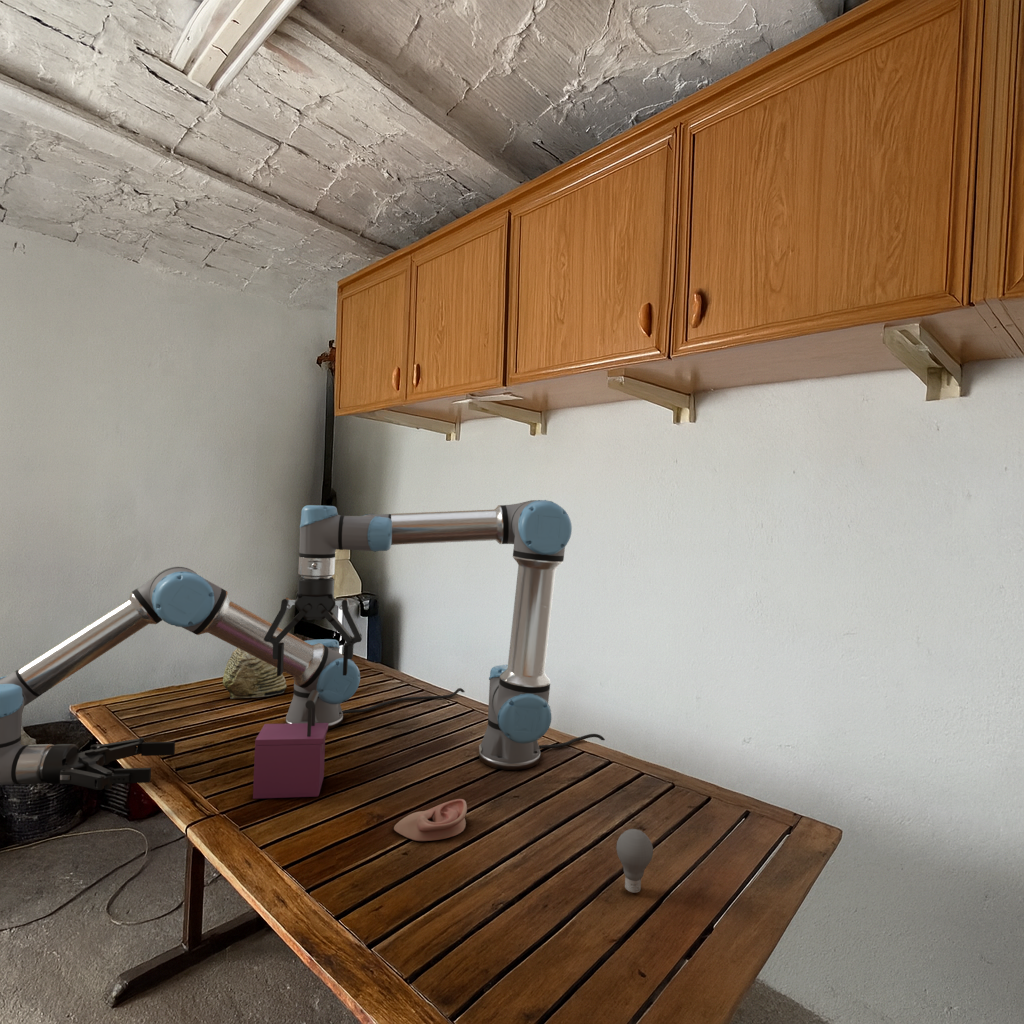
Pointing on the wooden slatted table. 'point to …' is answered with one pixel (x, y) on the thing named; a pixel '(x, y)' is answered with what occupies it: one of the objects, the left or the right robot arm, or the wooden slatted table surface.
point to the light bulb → (634, 857)
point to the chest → (288, 770)
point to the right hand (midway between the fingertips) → (312, 674)
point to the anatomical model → (434, 822)
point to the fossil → (251, 677)
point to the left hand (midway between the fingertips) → (163, 761)
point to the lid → (295, 729)
